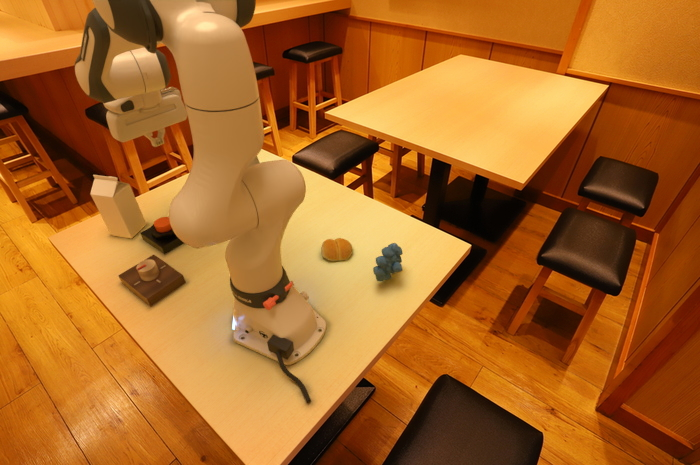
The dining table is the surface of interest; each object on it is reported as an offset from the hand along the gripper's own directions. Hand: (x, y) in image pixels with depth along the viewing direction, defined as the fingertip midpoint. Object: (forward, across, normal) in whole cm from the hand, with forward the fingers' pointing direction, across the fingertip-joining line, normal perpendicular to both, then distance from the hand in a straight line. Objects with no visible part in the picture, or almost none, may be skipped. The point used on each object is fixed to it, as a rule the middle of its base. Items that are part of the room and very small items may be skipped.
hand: (158, 144), depth 104 cm
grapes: (+25, -16, +68) cm, 74 cm away
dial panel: (+25, +22, +19) cm, 38 cm away
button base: (+25, +9, +6) cm, 27 cm away
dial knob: (+22, +22, +19) cm, 36 cm away
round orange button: (+21, +9, +6) cm, 24 cm away
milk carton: (+25, +14, -7) cm, 30 cm away
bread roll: (+25, -16, +50) cm, 58 cm away
